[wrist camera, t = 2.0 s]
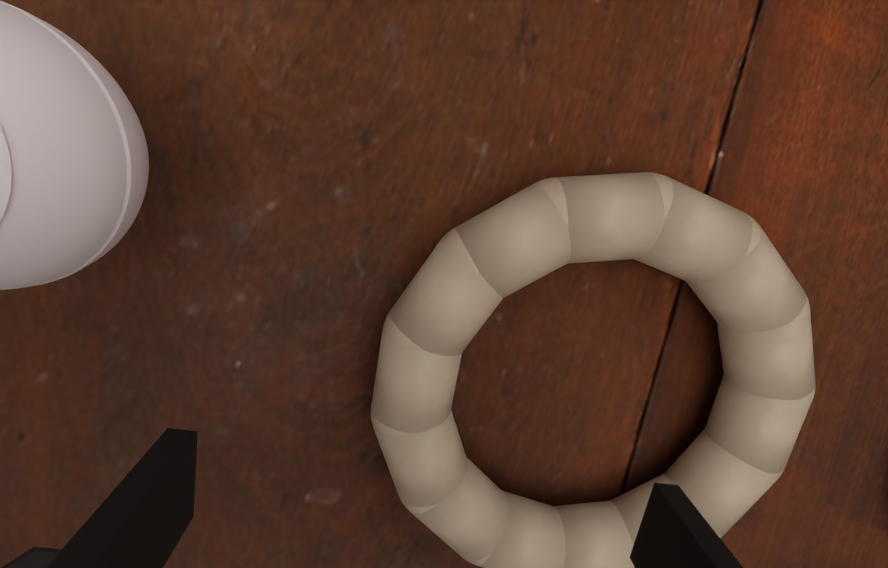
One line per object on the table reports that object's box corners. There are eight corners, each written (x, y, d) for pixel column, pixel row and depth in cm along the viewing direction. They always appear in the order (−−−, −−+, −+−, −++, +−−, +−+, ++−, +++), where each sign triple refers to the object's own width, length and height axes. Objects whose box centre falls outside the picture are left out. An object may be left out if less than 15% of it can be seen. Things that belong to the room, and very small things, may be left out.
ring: (352, 530, 26) (344, 589, 22) (412, 129, 21) (412, 126, 17) (702, 561, 28) (744, 618, 25) (835, 207, 23) (911, 217, 20)
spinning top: (201, 37, 19) (-108, -128, 8) (244, 229, 21) (54, 324, 10) (1, 59, 19) (-632, -80, 7) (66, 251, 21) (-349, 376, 9)
